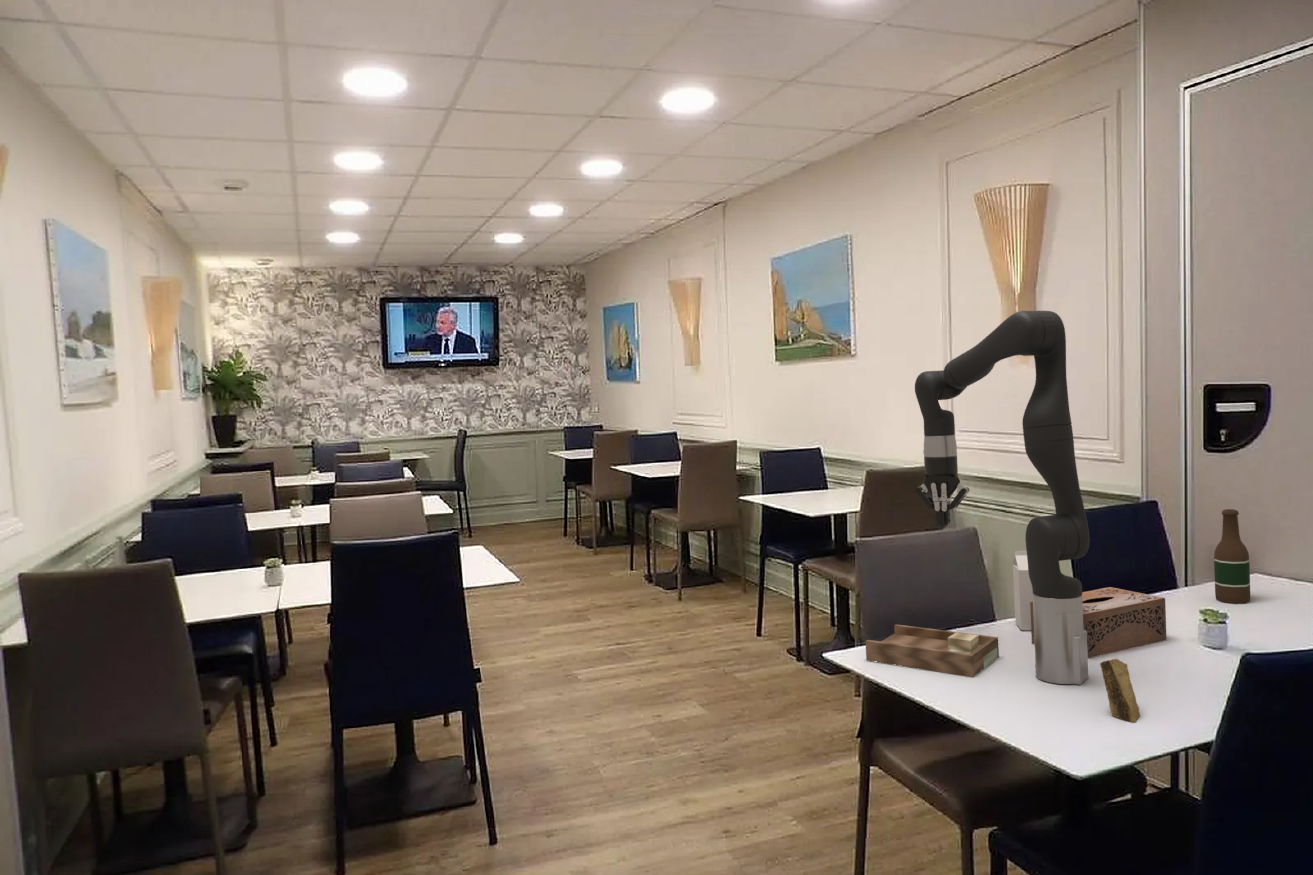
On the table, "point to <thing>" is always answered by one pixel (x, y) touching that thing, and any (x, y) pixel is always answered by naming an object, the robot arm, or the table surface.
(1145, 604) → the tissue box cover
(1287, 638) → the table surface
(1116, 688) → the rock
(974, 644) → the maple block
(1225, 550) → the beer bottle
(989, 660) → the box
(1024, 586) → the milk carton
